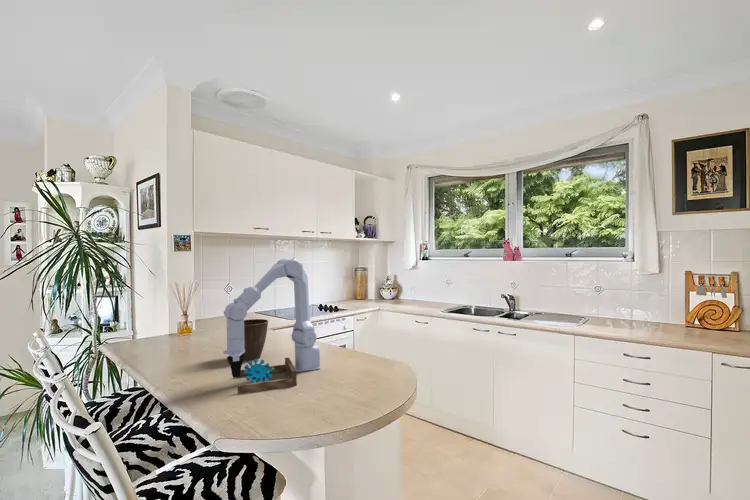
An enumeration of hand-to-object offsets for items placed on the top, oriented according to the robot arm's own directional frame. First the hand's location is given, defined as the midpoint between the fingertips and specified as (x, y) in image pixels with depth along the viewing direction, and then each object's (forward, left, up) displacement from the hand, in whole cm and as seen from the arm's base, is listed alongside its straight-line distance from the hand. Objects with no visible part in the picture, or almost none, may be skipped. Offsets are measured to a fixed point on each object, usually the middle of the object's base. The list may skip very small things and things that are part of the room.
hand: (236, 376), depth 127 cm
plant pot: (-6, -33, -3) cm, 34 cm away
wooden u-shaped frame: (-9, 0, -3) cm, 10 cm away
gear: (-8, 0, -3) cm, 8 cm away
